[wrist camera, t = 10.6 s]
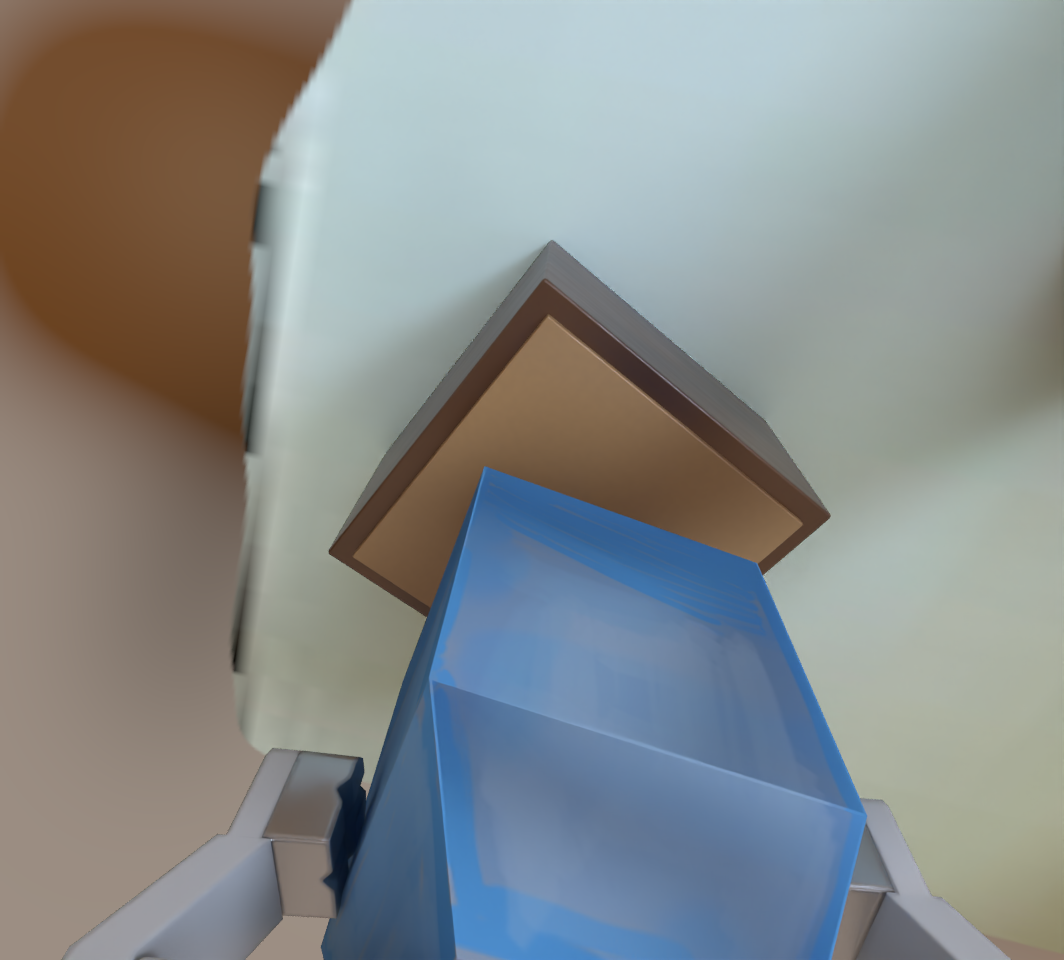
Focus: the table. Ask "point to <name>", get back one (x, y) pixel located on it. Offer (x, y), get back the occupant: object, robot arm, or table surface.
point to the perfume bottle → (599, 758)
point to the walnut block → (577, 438)
